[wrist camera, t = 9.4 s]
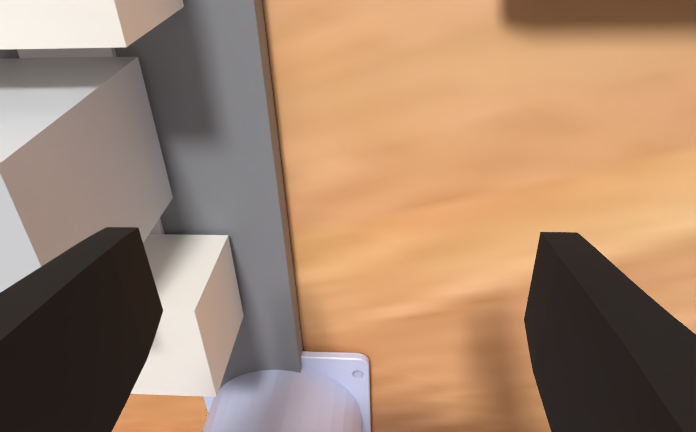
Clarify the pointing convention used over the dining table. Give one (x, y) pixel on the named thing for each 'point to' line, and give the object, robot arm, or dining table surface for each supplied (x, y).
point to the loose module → (74, 157)
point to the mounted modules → (162, 249)
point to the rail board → (222, 160)
